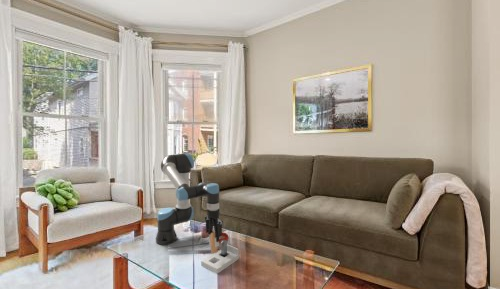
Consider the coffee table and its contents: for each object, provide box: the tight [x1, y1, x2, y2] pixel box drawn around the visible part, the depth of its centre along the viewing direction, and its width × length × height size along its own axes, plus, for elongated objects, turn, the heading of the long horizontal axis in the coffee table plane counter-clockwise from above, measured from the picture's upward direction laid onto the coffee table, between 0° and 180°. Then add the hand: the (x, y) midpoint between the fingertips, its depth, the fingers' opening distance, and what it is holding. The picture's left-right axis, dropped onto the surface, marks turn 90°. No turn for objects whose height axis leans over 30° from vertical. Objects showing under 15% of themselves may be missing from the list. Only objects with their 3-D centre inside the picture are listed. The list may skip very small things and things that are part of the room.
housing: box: [200, 243, 240, 274], centre depth 169 cm, size 14×20×7 cm
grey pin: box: [221, 240, 227, 257], centre depth 173 cm, size 4×4×12 cm
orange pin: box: [210, 231, 219, 254], centre depth 165 cm, size 4×4×12 cm
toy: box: [217, 231, 230, 251], centre depth 189 cm, size 12×10×8 cm
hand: (214, 245), depth 165 cm, fingers closed on orange pin, 4 cm apart
